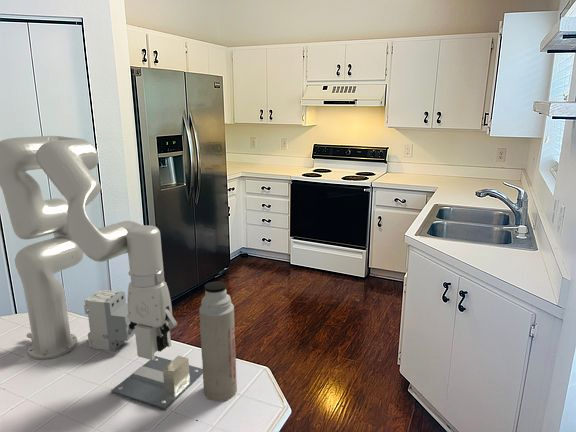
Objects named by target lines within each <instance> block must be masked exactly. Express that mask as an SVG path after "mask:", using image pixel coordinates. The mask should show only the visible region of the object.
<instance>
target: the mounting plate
mask: <svg viewBox="0 0 576 432" xmlns="http://www.w3.org/2000/svg"><path fill="white" fill-rule="evenodd" d="M154 357H155V359H154V360H150V359H148V361H147V362H146V363H145V364H143V365H141V366H140V367H138V369H136V370H135V371H134V372H132V374H130V375H129V376H128V377H126V378H125V379H124V380H123V381H121V382H120V383H119V384H117V385H116V386H114V388H112V389H111V390H110V393H111V394H113V395H116V396H119V397H122V398H125V399H128V400H131V401H134V402H138V403H140V404H144V405H146V406H149V407H151V408H155V409H159V410H160V411H161V410H162V411H164V412H165V411H166V410H168V408H170V407H171V405H173V404H174V403H175V402H176V401H177V400H178V399H179V398H180V397H181V396H182V394H184V393H185V392H186V391H187V390H188V389H189V388H190V387H191V386H192V385H193V384H194V383H195V382H196V381H197V380H198V379H199V378H200V377H201V376H203V368H201V367H196V366H193V365H190V364H189V363H190V362H189V357H185V356H182V355H177V356H176V357H175V358H174V359H173V360H172V359H169V358H164V357H160V356H157V355H154Z"/></svg>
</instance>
